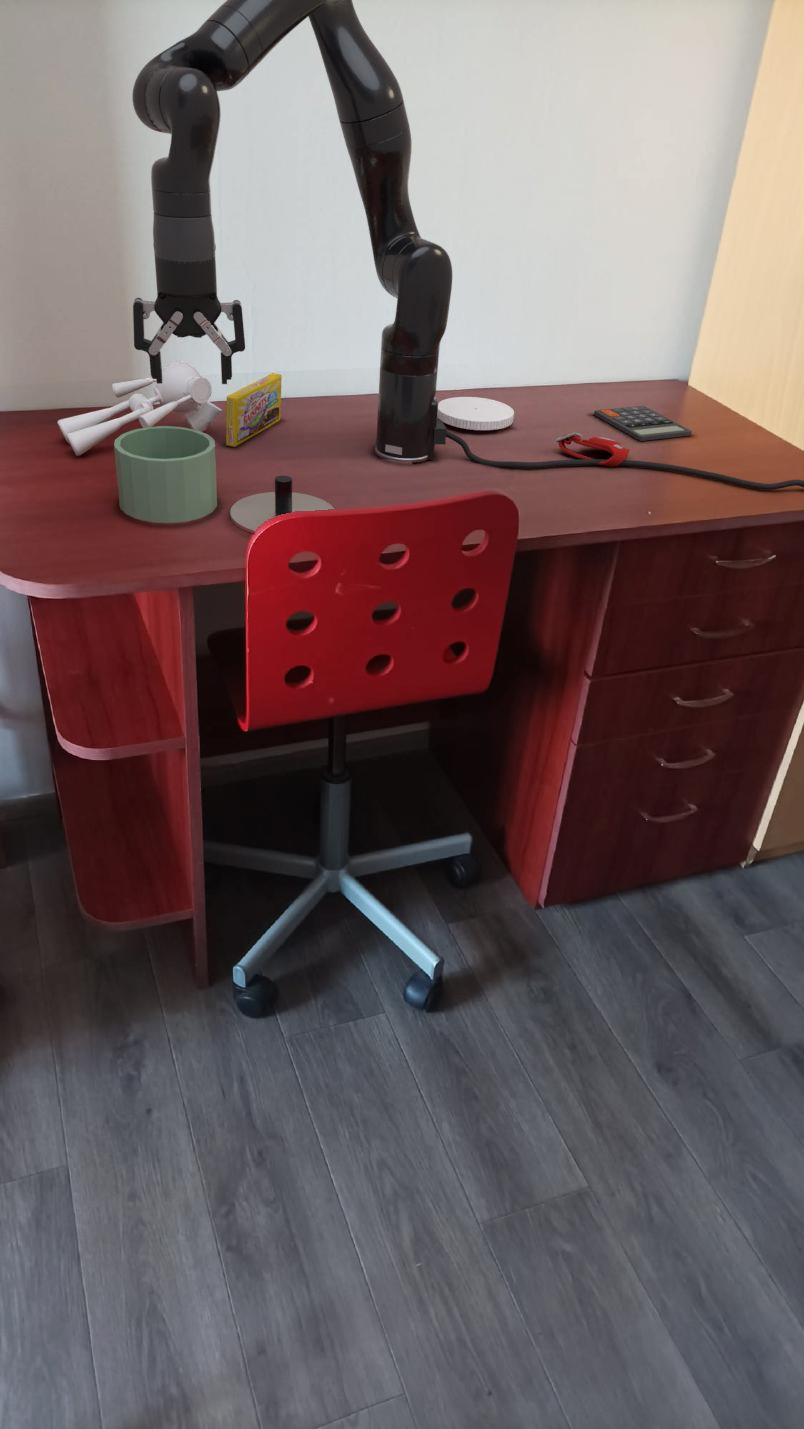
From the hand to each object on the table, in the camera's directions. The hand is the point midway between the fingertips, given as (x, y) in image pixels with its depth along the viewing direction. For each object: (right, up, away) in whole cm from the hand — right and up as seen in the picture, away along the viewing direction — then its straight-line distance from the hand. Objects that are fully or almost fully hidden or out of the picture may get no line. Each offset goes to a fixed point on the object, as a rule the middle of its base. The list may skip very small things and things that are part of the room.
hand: (192, 382), depth 139 cm
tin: (-5, -15, +10) cm, 19 cm away
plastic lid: (+41, +8, +50) cm, 65 cm away
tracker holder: (+61, 0, +39) cm, 72 cm away
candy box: (+3, +3, +38) cm, 38 cm away
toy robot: (-14, 0, +31) cm, 34 cm away
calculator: (+73, +9, +55) cm, 92 cm away
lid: (+11, -16, +9) cm, 22 cm away
